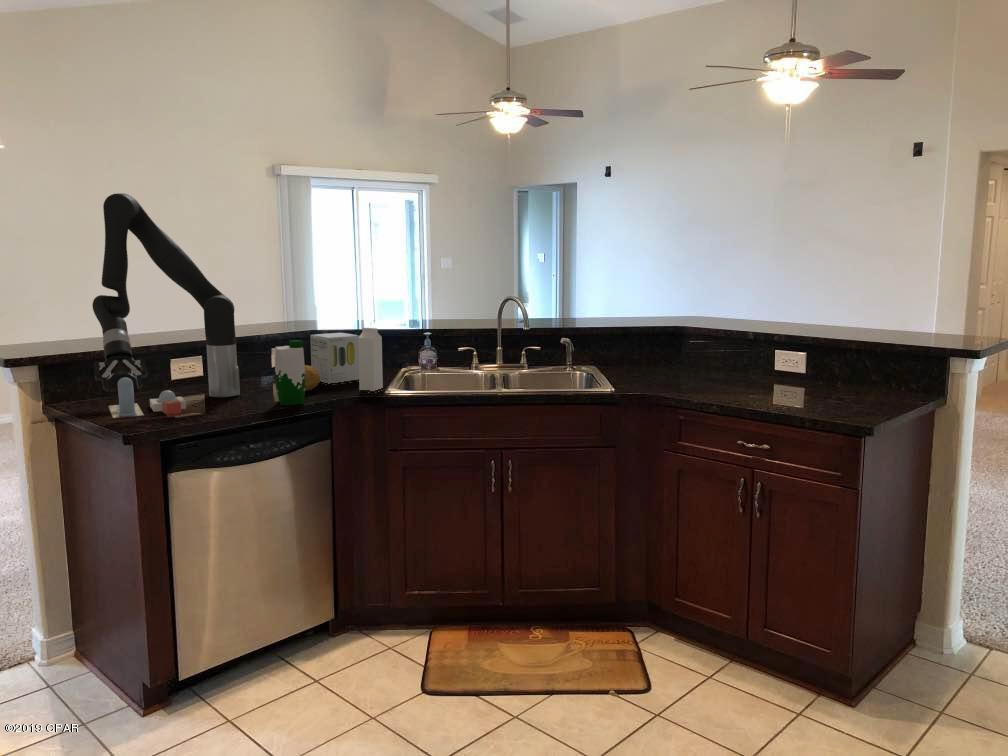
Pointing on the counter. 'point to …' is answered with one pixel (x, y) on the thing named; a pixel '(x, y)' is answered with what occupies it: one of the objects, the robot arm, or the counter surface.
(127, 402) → the pawn
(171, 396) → the light blue rounded piece
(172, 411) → the die
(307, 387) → the potato
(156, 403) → the base
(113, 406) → the track
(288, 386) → the milk carton
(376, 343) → the milk
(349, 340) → the supplement box
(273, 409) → the counter surface
